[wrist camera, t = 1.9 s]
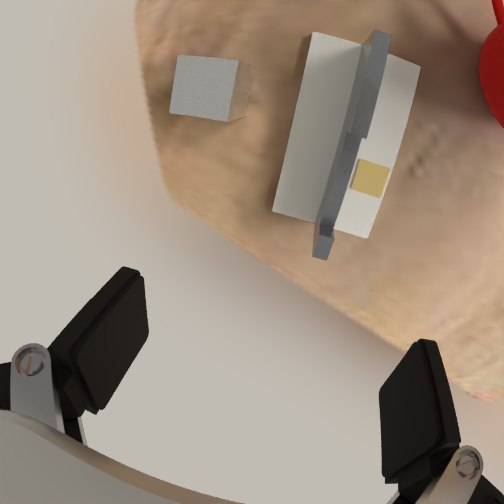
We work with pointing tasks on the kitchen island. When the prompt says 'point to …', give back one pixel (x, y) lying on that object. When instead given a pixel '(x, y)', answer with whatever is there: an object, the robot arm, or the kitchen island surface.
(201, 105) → the clip
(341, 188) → the rail
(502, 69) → the ceramic cup
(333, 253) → the kitchen island surface
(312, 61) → the base board
